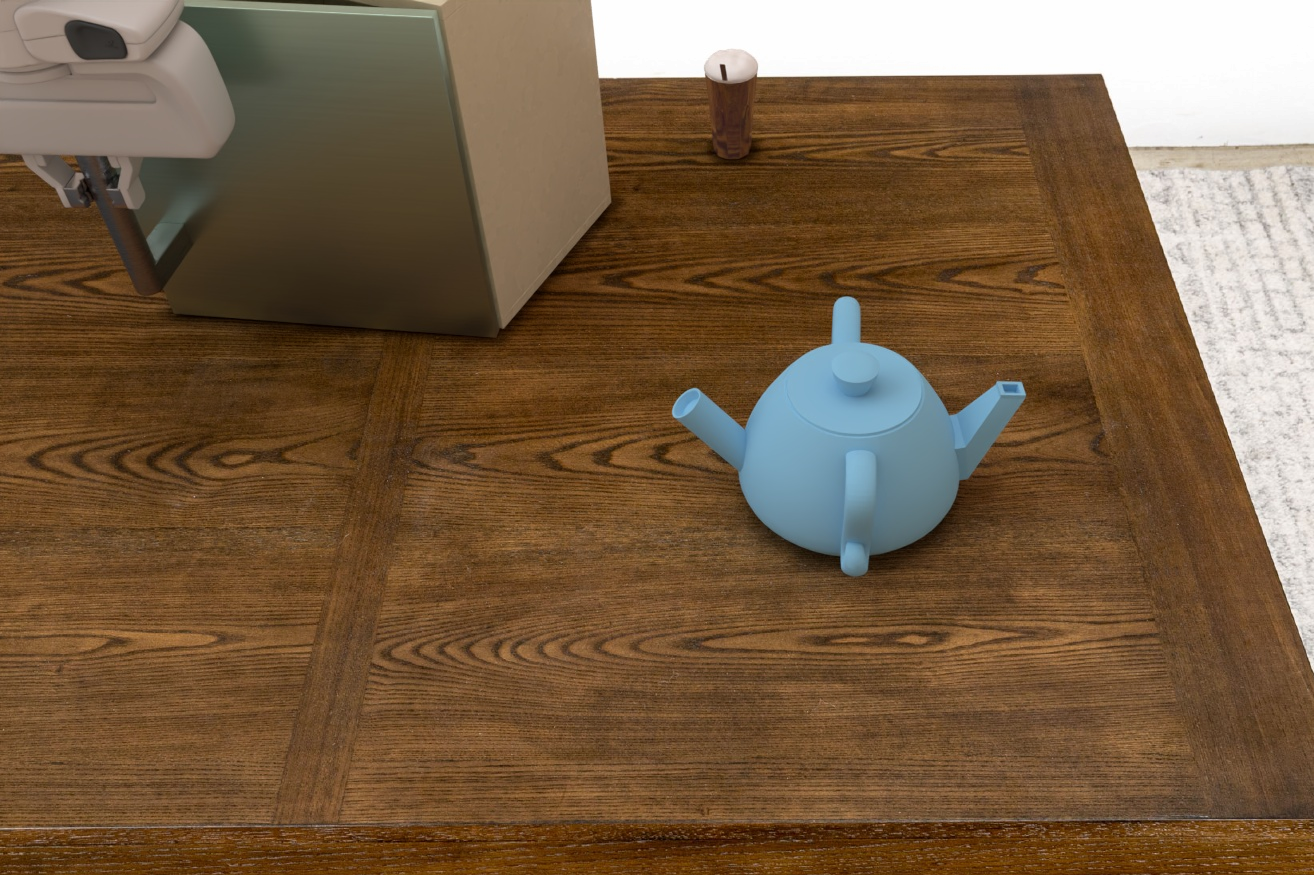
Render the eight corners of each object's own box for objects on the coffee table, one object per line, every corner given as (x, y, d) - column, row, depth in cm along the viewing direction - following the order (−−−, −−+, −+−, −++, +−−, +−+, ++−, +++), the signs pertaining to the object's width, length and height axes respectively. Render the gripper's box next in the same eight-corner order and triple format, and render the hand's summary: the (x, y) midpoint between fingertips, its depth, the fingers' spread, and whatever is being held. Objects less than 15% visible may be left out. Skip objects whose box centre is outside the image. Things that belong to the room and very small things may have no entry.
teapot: (810, 370, 93) (815, 246, 85) (1013, 480, 85) (1040, 355, 77) (669, 490, 85) (659, 366, 77) (878, 624, 77) (892, 501, 69)
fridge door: (475, 392, 92) (402, 67, 73) (139, 365, 95) (-14, 46, 76) (499, 329, 97) (437, 9, 78) (178, 306, 100) (43, -9, 81)
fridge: (503, 329, 97) (441, 5, 78) (232, 250, 105) (114, -62, 86) (611, 202, 108) (580, -109, 89) (359, 139, 116) (280, -159, 97)
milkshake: (699, 166, 111) (695, 61, 104) (713, 133, 115) (710, 29, 108) (749, 172, 111) (749, 66, 103) (762, 139, 114) (763, 35, 107)
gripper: (-181, 29, 73) (-67, 228, 83) (166, 34, 71) (239, 236, 81) (-124, -22, 77) (-22, 173, 87) (204, -18, 76) (269, 179, 86)
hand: (107, 203), depth 84 cm, fingers closed on fridge door, 2 cm apart
